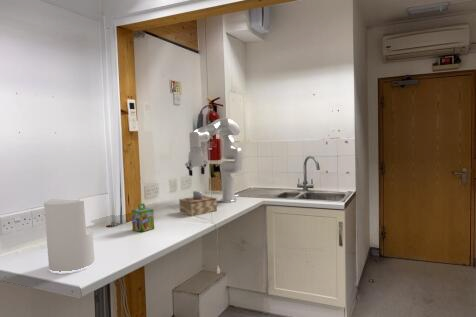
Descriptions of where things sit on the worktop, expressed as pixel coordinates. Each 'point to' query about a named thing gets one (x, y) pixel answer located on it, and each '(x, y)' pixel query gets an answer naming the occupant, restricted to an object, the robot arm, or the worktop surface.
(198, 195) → the grey knob post
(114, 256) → the worktop surface
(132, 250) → the worktop surface
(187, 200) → the lid
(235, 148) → the robot arm
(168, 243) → the worktop surface
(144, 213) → the green lunch box
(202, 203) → the storage box
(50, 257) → the cylinder
